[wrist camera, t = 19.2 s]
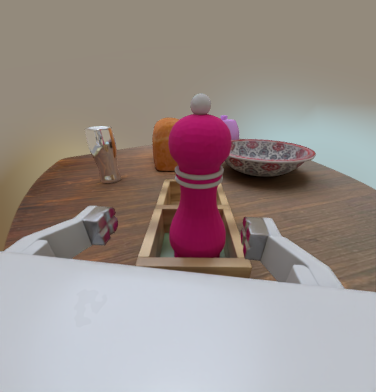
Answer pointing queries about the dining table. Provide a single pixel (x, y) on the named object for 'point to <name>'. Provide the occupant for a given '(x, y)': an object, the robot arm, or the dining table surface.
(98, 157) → the metal cup
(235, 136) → the teapot
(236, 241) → the divided wooden box
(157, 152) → the bread
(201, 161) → the pepper mill
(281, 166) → the ceramic bowl
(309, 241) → the dining table surface
